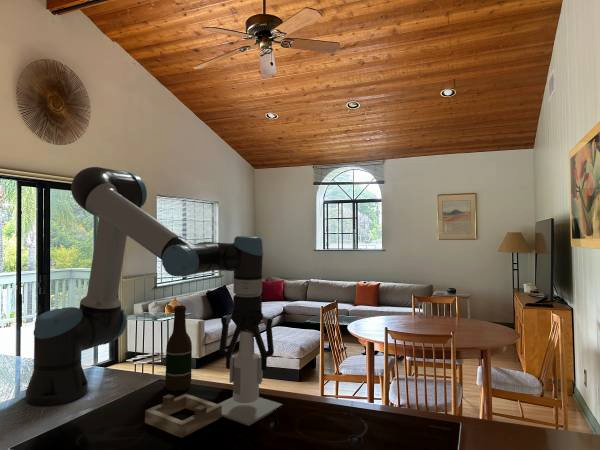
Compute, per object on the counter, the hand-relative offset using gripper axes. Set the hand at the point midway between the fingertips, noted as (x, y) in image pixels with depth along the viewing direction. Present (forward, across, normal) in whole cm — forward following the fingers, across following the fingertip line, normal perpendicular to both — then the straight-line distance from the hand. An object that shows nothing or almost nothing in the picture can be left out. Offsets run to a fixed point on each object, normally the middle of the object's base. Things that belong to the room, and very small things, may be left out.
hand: (246, 381), depth 116 cm
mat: (+7, 0, 0) cm, 7 cm away
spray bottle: (+5, 0, 0) cm, 5 cm away
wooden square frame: (+7, -14, -8) cm, 18 cm away
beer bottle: (+7, -23, +13) cm, 27 cm away
